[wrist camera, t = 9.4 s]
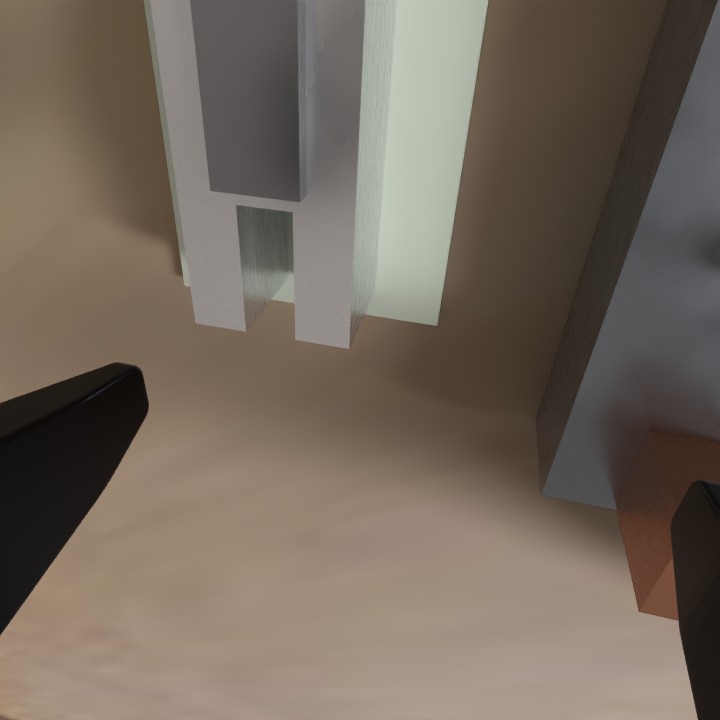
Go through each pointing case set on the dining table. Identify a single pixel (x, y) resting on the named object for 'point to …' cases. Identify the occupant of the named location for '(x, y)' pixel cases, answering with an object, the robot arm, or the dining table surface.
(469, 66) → the rubber mat
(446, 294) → the dining table surface
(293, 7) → the lever cap
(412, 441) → the dining table surface
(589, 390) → the hand plane
